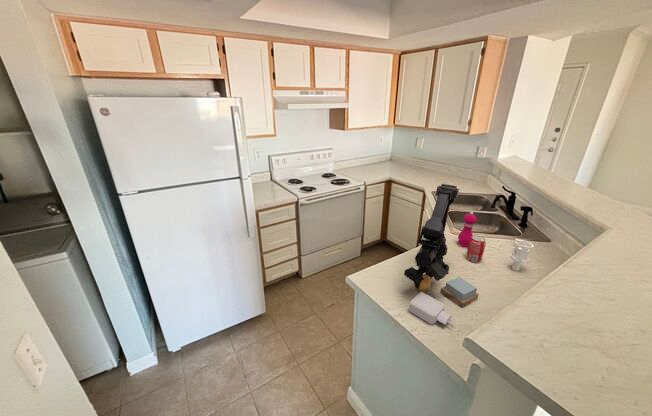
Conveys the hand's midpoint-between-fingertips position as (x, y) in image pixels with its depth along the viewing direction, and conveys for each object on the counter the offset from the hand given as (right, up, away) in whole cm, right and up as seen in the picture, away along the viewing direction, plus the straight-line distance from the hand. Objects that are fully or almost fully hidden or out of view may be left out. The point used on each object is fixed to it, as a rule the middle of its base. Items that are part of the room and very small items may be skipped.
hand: (422, 285), depth 112 cm
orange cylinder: (0, -1, 0) cm, 1 cm away
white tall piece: (+50, +4, +14) cm, 52 cm away
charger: (-1, -7, -14) cm, 16 cm away
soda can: (+33, +7, +21) cm, 40 cm away
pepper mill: (+35, +12, +34) cm, 51 cm away
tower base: (+13, -3, -4) cm, 14 cm away
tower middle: (+13, -1, -5) cm, 14 cm away
